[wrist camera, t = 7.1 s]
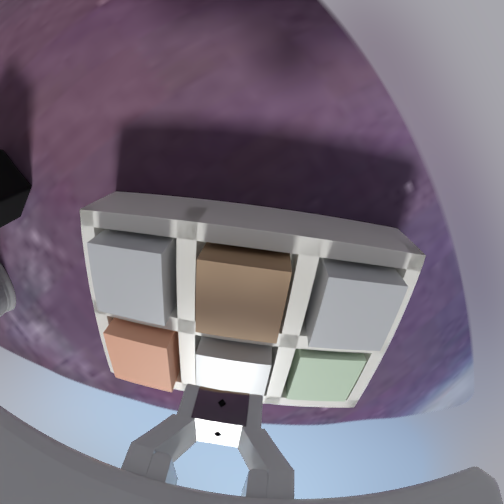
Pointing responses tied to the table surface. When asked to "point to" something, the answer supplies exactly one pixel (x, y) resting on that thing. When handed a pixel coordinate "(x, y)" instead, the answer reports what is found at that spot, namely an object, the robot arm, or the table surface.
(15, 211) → the battery
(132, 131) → the table surface
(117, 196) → the keypad
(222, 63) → the table surface
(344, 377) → the key sage
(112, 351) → the key terracotta
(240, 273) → the key walnut
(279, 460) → the robot arm
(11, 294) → the glass holder
